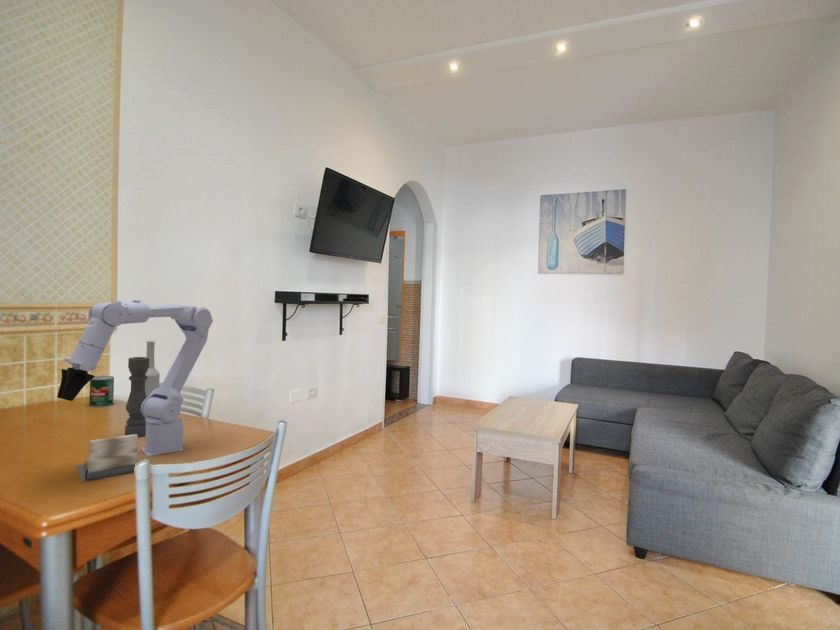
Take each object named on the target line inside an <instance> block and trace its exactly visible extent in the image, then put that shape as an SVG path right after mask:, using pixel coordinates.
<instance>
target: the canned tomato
mask: <svg viewBox="0 0 840 630" xmlns="http://www.w3.org/2000/svg"><path fill="white" fill-rule="evenodd" d="M114 385H115V377H114V376H112V375H98V376H95V377H94V378H93V379H91V380H90V381H89V403H88V406H89V407H91V408H106V407H111V406H113V405H114V394H115V393H114V392H115V391H114V390H115V388H114V387H115V386H114Z"/></svg>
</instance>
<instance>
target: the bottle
mask: <svg viewBox="0 0 840 630" xmlns="http://www.w3.org/2000/svg"><path fill="white" fill-rule="evenodd" d="M155 343H156V341H153V340H148V341H146V355H145V357H148V358H150V359H149V368H148V371H147V373H146V376H148V379H146V381H145V392H146V397H147V398H148V397H149V396H150V394H151V393H152V391H153V390H155V389H156V388H158V387H160V378H161V377H160V372H159V371H158V370H157V368H156V366H155ZM144 417H145V416H144Z"/></svg>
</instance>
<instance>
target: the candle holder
mask: <svg viewBox="0 0 840 630" xmlns="http://www.w3.org/2000/svg"><path fill="white" fill-rule="evenodd" d="M149 359H150V358H148V357H146V356H133V357H129V358H128V363H127V364H128V365H127V366H128V370H129V373H130V376H129V377H128V380H129V381H130V392H129V396H128V399H127V402H126V405H125V410H126V412H127V413H128V418H127V420H126V422H125V426H124V436H126V435H133V434H137V435H138V439H139V438H143V437H144V438H146V420H145V417H144V415H143V414H142V412H141V405H142V403H143V401H144V400H145V399H146V398H147V397H146V392H145V381H146V379H148V376H146V373H147V371H148V368H149Z"/></svg>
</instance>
